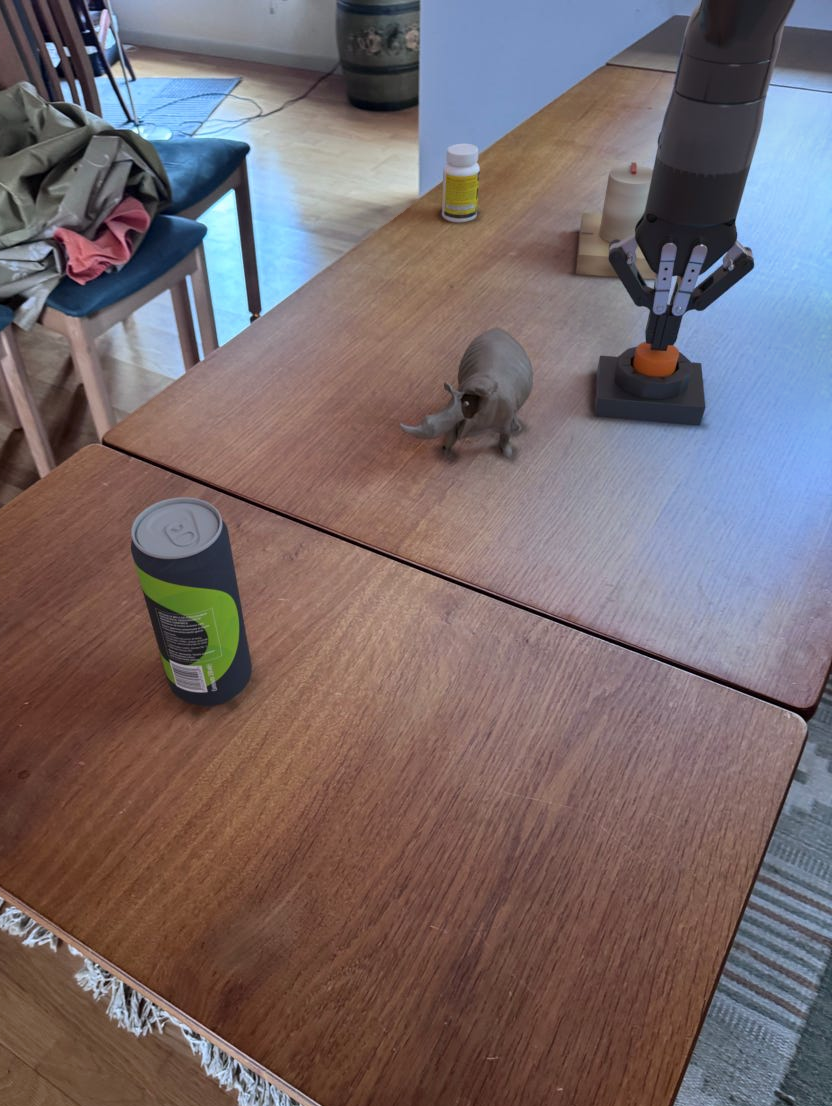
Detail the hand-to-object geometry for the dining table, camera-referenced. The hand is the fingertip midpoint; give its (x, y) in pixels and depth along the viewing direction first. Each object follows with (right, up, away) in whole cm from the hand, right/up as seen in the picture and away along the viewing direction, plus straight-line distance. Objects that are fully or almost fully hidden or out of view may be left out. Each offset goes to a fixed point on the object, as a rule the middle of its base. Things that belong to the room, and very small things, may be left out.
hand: (658, 346), depth 87 cm
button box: (0, -4, +4) cm, 6 cm away
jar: (+4, +21, +24) cm, 32 cm away
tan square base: (+4, +20, +26) cm, 33 cm away
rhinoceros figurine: (-17, -9, 0) cm, 20 cm away
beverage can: (-40, -31, -19) cm, 54 cm away
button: (0, -2, +2) cm, 2 cm away
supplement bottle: (-15, +29, +35) cm, 48 cm away
